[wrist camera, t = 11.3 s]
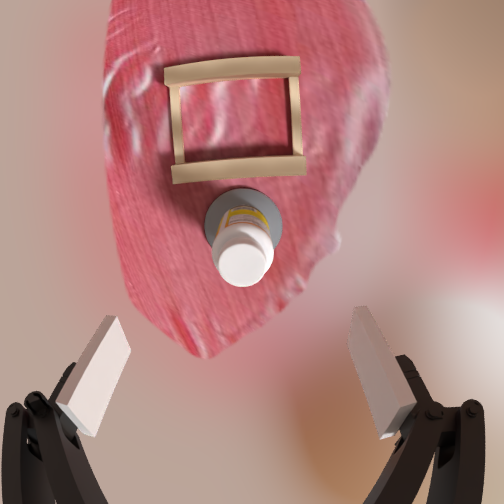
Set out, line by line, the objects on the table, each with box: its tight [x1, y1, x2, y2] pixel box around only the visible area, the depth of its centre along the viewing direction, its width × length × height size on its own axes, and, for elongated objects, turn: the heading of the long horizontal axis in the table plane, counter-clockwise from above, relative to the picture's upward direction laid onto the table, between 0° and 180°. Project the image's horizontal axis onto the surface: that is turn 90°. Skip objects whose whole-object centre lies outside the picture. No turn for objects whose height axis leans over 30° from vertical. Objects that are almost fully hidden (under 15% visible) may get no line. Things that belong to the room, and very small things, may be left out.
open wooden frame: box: [164, 56, 306, 184], centre depth 26 cm, size 13×14×2 cm
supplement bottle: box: [212, 205, 274, 287], centre depth 27 cm, size 6×6×10 cm
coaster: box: [204, 188, 282, 250], centre depth 32 cm, size 9×9×1 cm
